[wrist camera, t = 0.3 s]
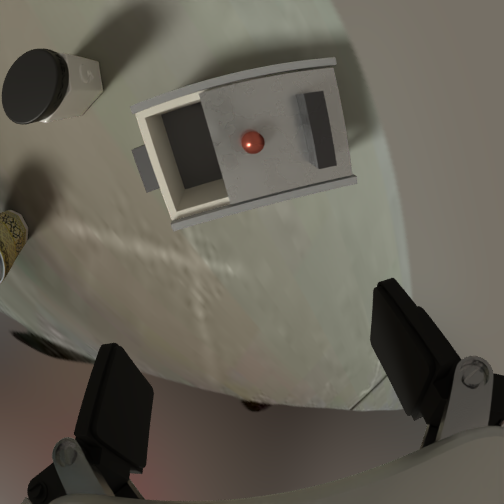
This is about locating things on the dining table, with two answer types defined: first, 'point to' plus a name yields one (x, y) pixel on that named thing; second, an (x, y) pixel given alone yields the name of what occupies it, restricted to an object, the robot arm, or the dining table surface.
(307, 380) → the dining table surface
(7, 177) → the dining table surface
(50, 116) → the jar
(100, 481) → the robot arm
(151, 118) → the white box with rails
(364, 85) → the dining table surface
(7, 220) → the ceramic cup
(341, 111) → the lid
